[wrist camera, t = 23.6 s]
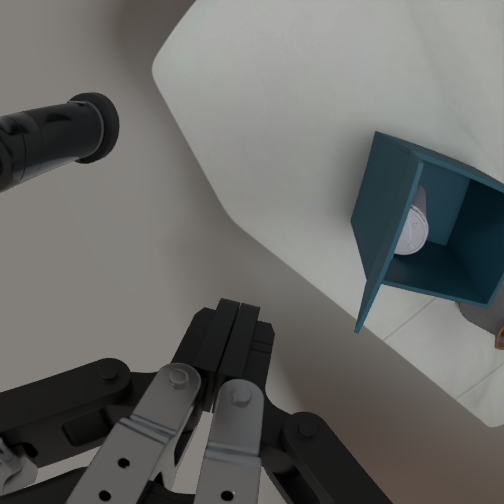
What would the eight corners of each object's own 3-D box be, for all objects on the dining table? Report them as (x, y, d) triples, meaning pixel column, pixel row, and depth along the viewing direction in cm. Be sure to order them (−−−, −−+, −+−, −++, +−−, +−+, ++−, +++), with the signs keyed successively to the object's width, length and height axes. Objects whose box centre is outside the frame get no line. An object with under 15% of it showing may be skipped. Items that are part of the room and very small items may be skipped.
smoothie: (385, 204, 42) (354, 263, 33) (397, 164, 37) (370, 214, 29) (426, 223, 39) (407, 288, 31) (442, 183, 35) (431, 241, 26)
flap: (369, 284, 29) (365, 283, 29) (414, 152, 23) (410, 150, 23) (358, 333, 22) (354, 332, 22) (424, 163, 16) (418, 161, 16)
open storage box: (350, 221, 43) (366, 280, 30) (375, 131, 37) (410, 149, 23) (445, 248, 42) (487, 308, 28) (475, 167, 36) (535, 204, 22)
